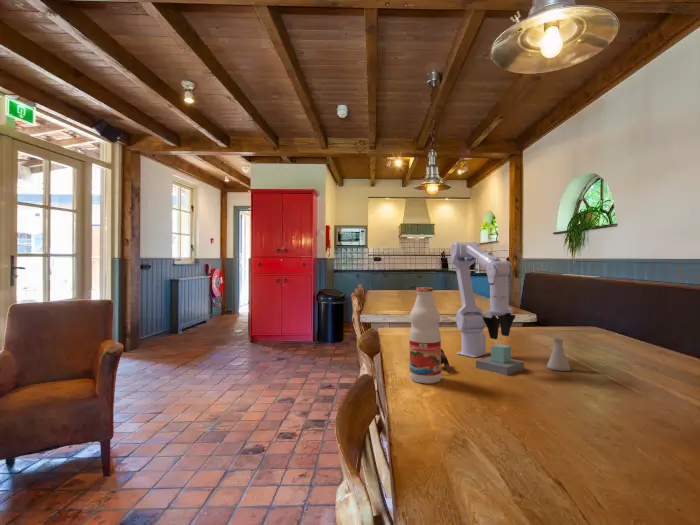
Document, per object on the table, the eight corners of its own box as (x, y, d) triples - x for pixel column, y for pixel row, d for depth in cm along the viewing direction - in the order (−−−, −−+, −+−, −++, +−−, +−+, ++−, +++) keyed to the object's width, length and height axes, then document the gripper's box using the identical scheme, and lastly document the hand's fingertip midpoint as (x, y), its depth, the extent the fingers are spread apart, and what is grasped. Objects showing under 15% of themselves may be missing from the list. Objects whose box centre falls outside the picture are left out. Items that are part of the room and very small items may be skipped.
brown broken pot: (449, 376, 118) (435, 354, 118) (424, 385, 123) (411, 363, 123) (457, 358, 128) (444, 338, 128) (433, 367, 133) (421, 347, 133)
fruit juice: (443, 376, 116) (442, 286, 116) (437, 385, 107) (436, 288, 108) (414, 373, 120) (413, 286, 120) (406, 381, 111) (405, 288, 111)
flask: (574, 372, 119) (574, 341, 120) (550, 371, 121) (549, 340, 121) (566, 366, 127) (565, 336, 127) (543, 365, 128) (542, 336, 128)
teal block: (498, 358, 128) (498, 344, 128) (511, 361, 124) (511, 346, 124) (491, 360, 125) (491, 345, 125) (503, 363, 121) (503, 347, 122)
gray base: (493, 363, 132) (493, 355, 132) (524, 370, 124) (524, 361, 124) (475, 369, 126) (475, 360, 126) (506, 377, 117) (506, 367, 117)
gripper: (499, 298, 117) (499, 342, 117) (521, 296, 126) (521, 336, 126) (479, 297, 123) (479, 338, 122) (501, 294, 132) (501, 333, 132)
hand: (499, 337), depth 125 cm, fingers open, 7 cm apart
